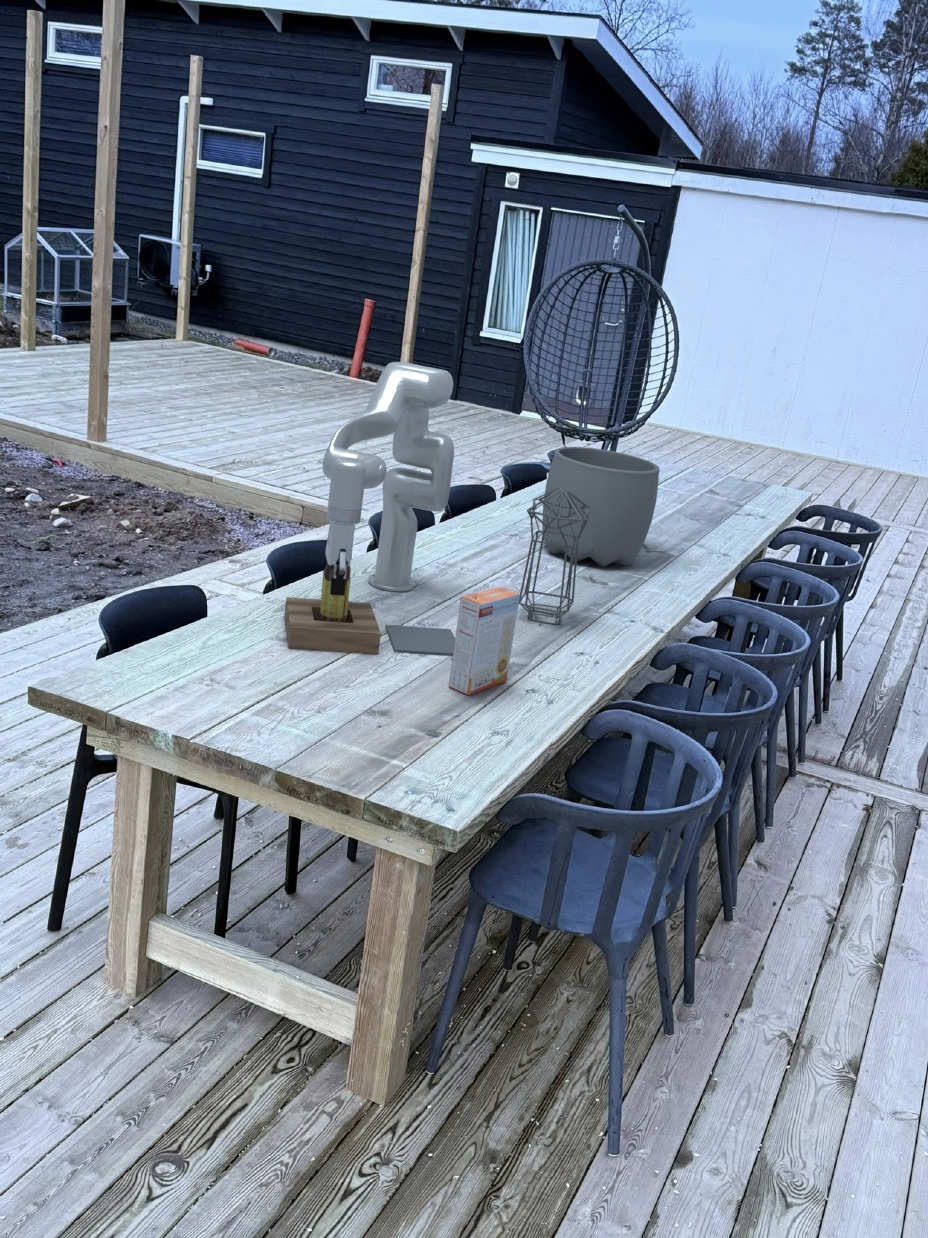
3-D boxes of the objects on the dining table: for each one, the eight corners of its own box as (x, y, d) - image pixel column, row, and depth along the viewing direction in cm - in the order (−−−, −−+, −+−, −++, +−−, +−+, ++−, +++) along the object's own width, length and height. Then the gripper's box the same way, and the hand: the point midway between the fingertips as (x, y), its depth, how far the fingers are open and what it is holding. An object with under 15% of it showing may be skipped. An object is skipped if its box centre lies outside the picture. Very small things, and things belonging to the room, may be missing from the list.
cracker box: (486, 673, 252) (500, 585, 245) (507, 682, 249) (522, 593, 242) (445, 686, 241) (460, 594, 234) (467, 696, 238) (482, 603, 231)
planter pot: (523, 555, 348) (540, 455, 338) (547, 533, 379) (563, 441, 369) (634, 580, 340) (655, 478, 330) (649, 556, 371) (669, 462, 360)
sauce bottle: (333, 613, 264) (342, 531, 257) (352, 621, 260) (361, 539, 253) (312, 618, 259) (321, 535, 252) (331, 627, 255) (340, 543, 248)
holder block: (284, 616, 267) (286, 597, 265) (367, 622, 271) (370, 603, 270) (288, 648, 248) (290, 627, 247) (378, 654, 253) (380, 633, 251)
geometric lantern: (569, 633, 286) (591, 499, 274) (508, 622, 288) (527, 489, 277) (576, 614, 301) (596, 486, 289) (518, 604, 303) (536, 476, 291)
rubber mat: (385, 626, 271) (385, 624, 270) (450, 631, 274) (450, 629, 274) (394, 652, 256) (394, 649, 256) (462, 656, 260) (463, 654, 259)
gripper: (324, 501, 258) (316, 575, 264) (330, 523, 242) (322, 601, 248) (356, 504, 259) (348, 578, 265) (365, 526, 244) (356, 604, 250)
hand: (335, 588), depth 257 cm, fingers closed on sauce bottle, 6 cm apart
